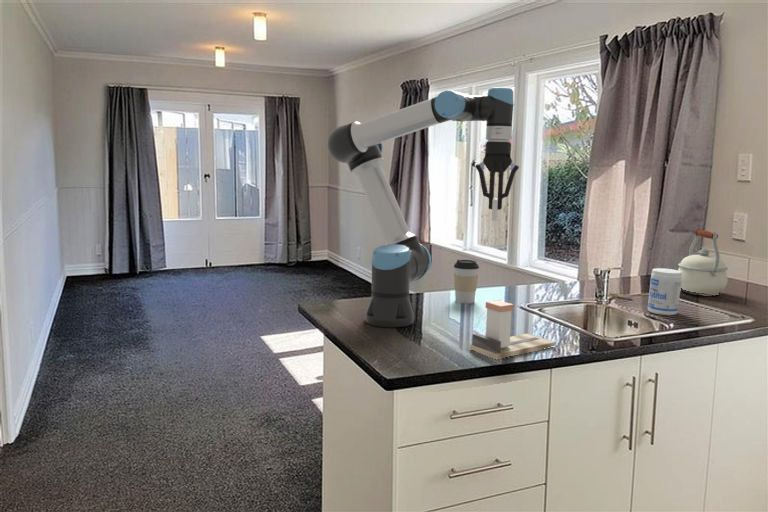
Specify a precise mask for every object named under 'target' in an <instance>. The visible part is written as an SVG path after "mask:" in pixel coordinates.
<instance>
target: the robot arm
mask: <svg viewBox="0 0 768 512" xmlns="http://www.w3.org/2000/svg"><path fill="white" fill-rule="evenodd" d="M514 105H515V104H514V90H513V89H512V88H510V87H504V86H502V87H501V86H500V87H499V86H497V87H489V88H488V89H487V93H486V94H484V95H483V94H482V95H477V94H475V95H474V94H473V95H469V94H466V93H462V92H459V91H457V90H455V89H453V90H452V89H446V90H442V91H441V92H440V93H439V94H437V96H434V97H431V98H429V99H426V100H423V101H420V102H417V103H414V104H412V105H409V106H406V107H403V108H401V109H398V110H394V111H393V112H389V113H386V114H384V115H380V116H377V117H375V118H372V119H369V120H367V121H364V122H359V121H352V122H350V123H347V124H344V125H340V126H337V127H336V128H334V129H333V130H332V131H331V132H330V134H329V135H328V138H327V150H328V153H329V154H330V156H331V157H332V158H333V159H334V160H335V161H337V162H340V163H343V164H344V163H345V164H347V166H348V168H349V170H350V173H351V174H352V175H355V176H357V178H358V180H359V182H360V185H361V187H362V189H363V191H364V194H365V197H366V198H367V200H368V201H367V202H368V203H369V206H370V207H371V211H372V212H373V215H374V217H375V220H376V222H377V224H378V227H379V229H380V231H381V234H382V237H383V239H384V242H385V245H380V246H378V247H376V248H375V249H373V251H372V255H371V256H372V257H371V296H370V297H371V298H370V300H369V303H368V306H367V308H366V311H365V316H364V317H365V323H366V324H368V325H371V326H375V327H379V328H403V327H409V326H411V325H413V324H414V322H415V314H414V311H413V307H412V303H411V300H410V283H412V282H415V281H418V280H420V279H422V278H423V277H425V276H426V275H427V274H428V272H429V270H430V269H431V265H432V256H431V253H430V251H429V250H428V248H427V247H426V246H424V245H423V244H421V243H420V240H419V239H418V236H417V234H415V233H412V232H411V231H410V228H409V227H408V224H407V222H406V221H405V220H406V219H405V218H404V217H405V216H404V215H403V212H402V210H401V207H400V206H399V203H398V201H397V198H396V197H395V194H394V192H393V190H392V189H393V188H392V187H391V185H390V183H389V180H388V178H387V174H386V173H385V170H384V169H383V163H384V161H385V159H384V156H383V154H382V152H383V148H384V147H383V143H385V142H388V141H391V140H395V139H397V138H399V137H404V136H406V135H410V134H412V133H415V132H418V131H420V130H421V131H422V130H425V129H427V128H430V127H433V126H436V125H439V124H442V123H445V122H449V121H453V122H460V123H461V122H477V121H478V122H481V121H482V122H486V126H485V127H486V131H485V140H486V142H485V149H484V158H483V159H482V161H481V162H480V163H478V164H475V169H476V170H477V172H478V175H479V180H480V185H481V186H480V187H481V190H482V191H481V192H482V194H483V197H486V198H488V210H491V221H492V222H497V221H498V219H499V218H498V215H499V210H502V208H503V199H504V198H507V197H508V196H509V194H510V191H511V188H512V185H513V182H514V177H515V175H516V173H517V171H518V170H519V169H520V166H519V165H517V164H515V163H514V162H513V160H512V157H511V153H512V143H511V141H512V138H513V137H512V136H513V135H512V134H513V115H514ZM485 167H486V168H487V171H488V172H489V189H488V187H487V181H486V177H485V172H484V170H485ZM509 167H510V168H509ZM508 168H509V169H510V170H511V171H510V174H509V176H508V180H507V183H506V187H505V190H504V176H505V172H506V170H507V169H508ZM496 173H498V183H497V184H498V185H497V198H495V181H496ZM488 190H489V191H488Z"/></svg>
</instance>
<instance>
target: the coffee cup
mask: <svg viewBox="0 0 768 512" xmlns="http://www.w3.org/2000/svg"><path fill="white" fill-rule="evenodd" d="M453 268H454V269H453V270H454V273H453V279H454V293H455V294H454V295H455V303H456V302H457V303H459V304H465V305H466V304H473V303H475V299H476V291H477V285H478V280H479V269H480V267H479V264H478V263H477V261H475V260H472V259H457V260H456V262H455V263H454V266H453Z"/></svg>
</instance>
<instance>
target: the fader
mask: <svg viewBox="0 0 768 512" xmlns="http://www.w3.org/2000/svg"><path fill="white" fill-rule="evenodd" d="M485 309H486V324H485V325H486V326H485V336H486V337H489V338H492V339H495V340H498V341H501V348H504V347H509V346H510V337H511V330H512V328H511V327H512V311H514V304H513V303H510V302H506V301H502V300H492V301H491V300H490V301H485Z"/></svg>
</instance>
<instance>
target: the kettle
mask: <svg viewBox="0 0 768 512" xmlns="http://www.w3.org/2000/svg"><path fill="white" fill-rule="evenodd" d="M699 237H702V238H706V239H711V240H712V247H713V251H714V254H715V255H714V256H713V255H709V254H710V251H709V250H708V249H707V248H705V247H703V248H702V249H700V250H699V251H698V253H699V254H693V253H694V248H695V246H696V244H697V242H698V240H699ZM718 237H719V235H718V233H716V232H711V231H708V230H705V229H704V230H703V229H700V228H695V230H694V240H693V241H692V242H691V245H690V247H689V253H688V255H687V256H686V257H684V258H683V259H682V260H681V261H680V262H679V263H678V264H677V265H678V271H681V272H682V279H681V288H682V289H683V290H686V291H690V292H696V293H706V294H716V293H719V292H720V293H721V292H722V291H723V290H724V289H725V288H726V287H727V285H728V274H727V271H728V270H729V269H728V267H727V266H726V264H725V262H724V261H723V260H722V259H721V258H720V257H721V256H720V253H719V248H718V244H717V240H718ZM681 288H680V289H681Z"/></svg>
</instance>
